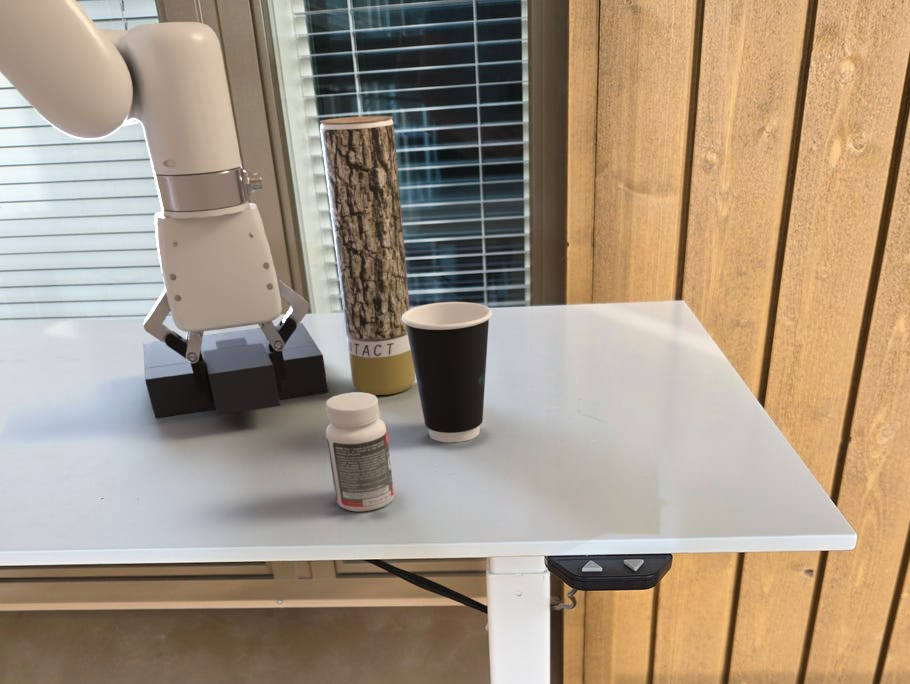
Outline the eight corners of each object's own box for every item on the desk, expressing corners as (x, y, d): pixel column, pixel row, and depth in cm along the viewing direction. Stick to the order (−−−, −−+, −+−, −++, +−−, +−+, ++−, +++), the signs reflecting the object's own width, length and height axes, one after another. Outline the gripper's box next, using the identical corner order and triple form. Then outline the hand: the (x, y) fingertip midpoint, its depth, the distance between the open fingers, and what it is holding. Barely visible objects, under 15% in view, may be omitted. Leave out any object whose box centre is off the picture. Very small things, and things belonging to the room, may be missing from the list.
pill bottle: (405, 500, 72) (395, 400, 67) (356, 518, 70) (342, 416, 65) (373, 482, 75) (361, 385, 70) (325, 500, 73) (310, 400, 68)
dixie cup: (513, 433, 83) (510, 312, 77) (443, 456, 79) (433, 330, 73) (464, 411, 88) (458, 296, 82) (396, 432, 85) (384, 313, 78)
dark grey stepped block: (217, 415, 84) (208, 374, 82) (209, 381, 93) (200, 343, 91) (280, 405, 86) (273, 364, 84) (266, 373, 94) (259, 335, 92)
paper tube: (374, 373, 99) (345, 116, 85) (427, 380, 97) (406, 115, 83) (341, 393, 94) (304, 123, 80) (395, 400, 92) (367, 122, 78)
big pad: (155, 418, 91) (145, 379, 88) (152, 378, 102) (143, 343, 100) (328, 392, 95) (322, 354, 93) (307, 356, 106) (302, 322, 104)
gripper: (294, 179, 83) (323, 370, 93) (101, 197, 79) (153, 395, 89) (307, 188, 77) (336, 392, 87) (99, 209, 73) (155, 420, 83)
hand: (243, 391), depth 88 cm, fingers closed on dark grey stepped block, 6 cm apart
